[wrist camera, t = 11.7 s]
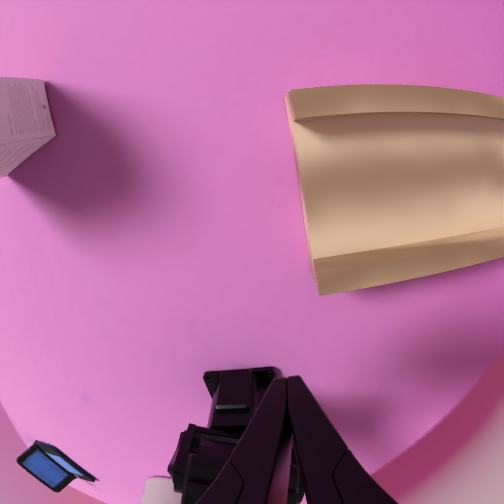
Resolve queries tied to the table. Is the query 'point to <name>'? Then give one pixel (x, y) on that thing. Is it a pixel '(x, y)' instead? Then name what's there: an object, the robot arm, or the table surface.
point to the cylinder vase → (160, 492)
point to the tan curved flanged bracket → (397, 181)
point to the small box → (22, 120)
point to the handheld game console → (51, 466)
